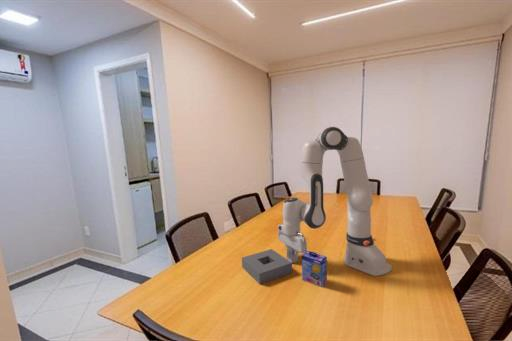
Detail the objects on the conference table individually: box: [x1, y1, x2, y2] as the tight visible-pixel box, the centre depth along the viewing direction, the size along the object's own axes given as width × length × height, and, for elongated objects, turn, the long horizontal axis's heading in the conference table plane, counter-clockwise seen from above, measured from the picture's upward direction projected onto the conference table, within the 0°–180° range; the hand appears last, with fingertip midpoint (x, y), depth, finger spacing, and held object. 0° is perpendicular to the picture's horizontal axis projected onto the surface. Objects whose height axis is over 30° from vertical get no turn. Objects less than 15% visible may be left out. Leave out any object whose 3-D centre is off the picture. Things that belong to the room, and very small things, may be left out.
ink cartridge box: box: [301, 250, 328, 288], centre depth 110 cm, size 10×6×14 cm, turn 51°
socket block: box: [241, 248, 293, 285], centre depth 121 cm, size 18×18×5 cm
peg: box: [286, 246, 299, 264], centre depth 129 cm, size 4×4×8 cm
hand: (292, 254), depth 129 cm, fingers closed on peg, 4 cm apart
